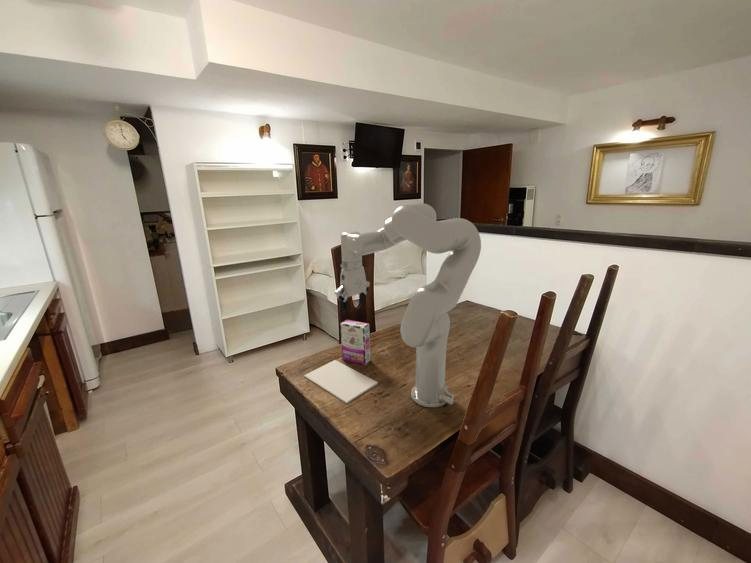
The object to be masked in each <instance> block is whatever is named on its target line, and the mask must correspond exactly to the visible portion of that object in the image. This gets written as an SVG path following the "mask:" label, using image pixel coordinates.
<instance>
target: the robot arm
mask: <svg viewBox="0 0 751 563" xmlns="http://www.w3.org/2000/svg"><path fill="white" fill-rule="evenodd" d="M406 240H407V241H408V242H410V243H412V244H414V245H415V246H417V247H419V248H421V249H423V251H424V250H425V252H426V251H427V252H428V253H431V254H435V255H436V254H438V255H439V254H444V253H448V252H449V253H448V255H447V256H446V258H445V259H444V260H443V262H442V264H441V265H440V268H439V271H438V273H437V275H436V277H435V279H434V280H433V281H431V282H430V283H428V284H425V285H423V286H421V287H419V288H418V289H417V290H415V292H414V293H413V295H412V296H411V298H410V300H409V303H408V304H407V307H406V310H405V312H404V315H403V318H402V320H401V324H400V332H399V333H400V336H401V339H402V341H403V343H405V344H406V345H407V346H408V347H411V348H416V350H415V351H416V352H415V385H414V386H413V387H412V388H411V389H410V396H411V399H412V400H413V401H414V402H415V403H416V404H417V405H419V406H422V407H426V408H439V407H442V406H444V405H445V404H448V405H450V406H452V405H453V403H455V402H454V401H455V399H454V397H455V394H453V393H451V392H449V391H448V385H446V383H445V382H446V380H445V379H446V361H447V360H446V356H447V345H448V338H449V337H448V336H449V334H450V329H451V319H450V316H449V314H448V312H450V311H451V310H453V309H454V308H455V307H456V306H457V305H458V302H459V300H460V299H461V296H462V294H463V292H464V290H465V288H466V286H467V284H468V281H469V279H470V278H471V275H472V273H473V270H474V269H475V267H476V265H477V263H478V261H479V257H480V254H481V252H482V240H481V236H480V233H479V230H478V229H477V227H476V225H475V224H474V223H473V222H471V221H469V220H468V219H465V218H461V217H456V218H455V217H454V218H449V219H448V218H447V219H443V220H437V212H436V210H435V209H434V207H433V206H431V205H430V204H428V203H412V204H404V205H400V206H399V207H397V208H396V209H395V210H394V211H393V213H392V215H391V217H389V218H387V219H386V220H385V222H384V225H383V228H381V229H379V230H375V231H369V232H363V233H361V232H359V231H355V230H354V231H353V230H350V231H349V230H348V231H343V232H342V233H341V235H340V245H341V247H340V249H341V250H340V251H341V264H340V268H341V271H340V276H339V278H340V280H339V281H340V282H339V287H338V288H337V289H336V290H335V291H334V295H335V297H336V298H337V299H338V301H340V310H341V311H343V312H346V313H347V312H348V310H349V309H348V306H349V305H348V304H349V303H348V298H349V297H353V296H356V295H358V301H359V304H361V305H366V304H367V298H366V297H367V293H368V291H369V287H370V285H371V283H370V281H368V280H367V278H366V277H367V276H366V272H365V268H364V266H363V256H367V255H371V254H374V253H379V252H382V251H386V250H387V249H390V248H392V247H394V246H396V245H397V246H398V245H399V244H400V243H402V242H405V241H406Z"/></svg>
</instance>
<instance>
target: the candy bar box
mask: <svg viewBox="0 0 751 563" xmlns="http://www.w3.org/2000/svg"><path fill="white" fill-rule="evenodd" d="M370 330H371V329H370V323H367V322H362V321H356V320H351V319H346V320H343V321H341V323H340V339H341V340H340V341H341V354H342V360H343V361H346V362H349V363H354V364H358V365H362V366H366V365H368V363H369V362H371V360H372V359H371V358H372V357H371V356H372V355H371V354H372V353H371V334H370V332H371V331H370Z"/></svg>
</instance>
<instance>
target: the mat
mask: <svg viewBox="0 0 751 563" xmlns="http://www.w3.org/2000/svg"><path fill="white" fill-rule="evenodd" d="M303 377H304V378H306V379H308V380H309V381H310V382H312V383H314V384H316V386H319V387H320V388H322V389H323V390H324V391H326V392H328V393H329V394H331V395H332V396H334V398H335V397H336V398H337V399H339V400H340V401H341V402H343V403H345V404H349V403H350V402H352V401H354V400H355V399H356V398H359V397H360V396H361V395H362V394H364V393H366V392H368V391H369V390H370V389H373V387H375V386H377V385H378V383H379V382H378V381H376V380H374V379H372V378H370V377H369V376H367V375H364V374H363V373H361V372H359V371H357V370H355V369H353V368H352V367H350V366H347V365H346V364H343V363H341V362H340V361H338V360H336V359H333V360H332V361H329V362H328V363H326V364H324V365H321V366H320V367H318V368H316V369H314V370H312V371H310V372H308V373H305V374H304V375H303Z"/></svg>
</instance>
